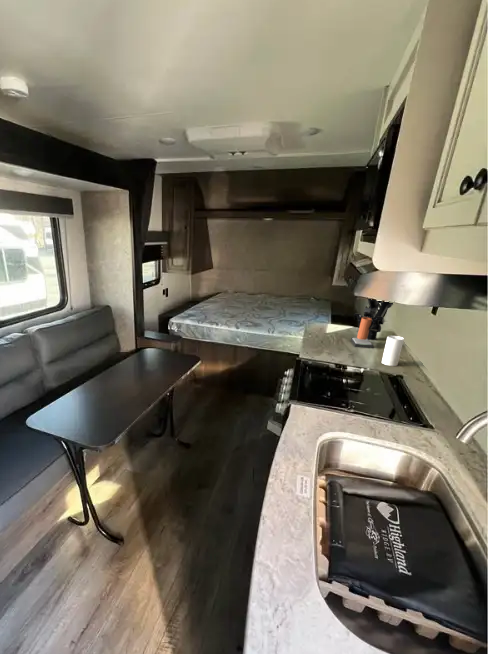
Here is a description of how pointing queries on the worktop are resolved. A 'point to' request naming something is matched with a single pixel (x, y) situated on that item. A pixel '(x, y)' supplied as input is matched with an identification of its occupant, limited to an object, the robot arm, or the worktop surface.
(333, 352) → the worktop surface
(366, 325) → the orange cylinder
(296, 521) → the worktop surface
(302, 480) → the worktop surface
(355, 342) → the scale
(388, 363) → the cup
